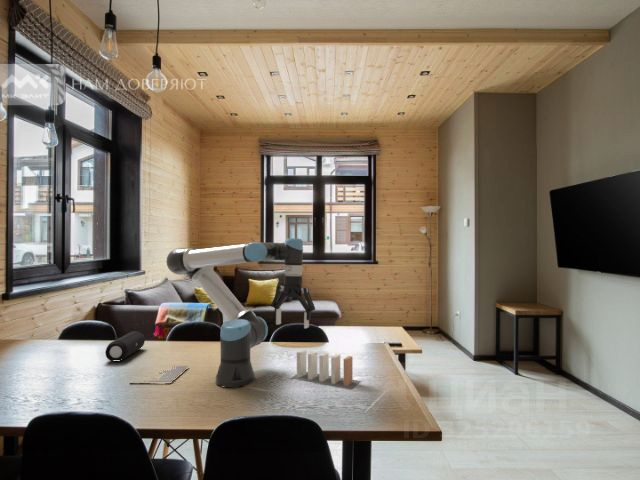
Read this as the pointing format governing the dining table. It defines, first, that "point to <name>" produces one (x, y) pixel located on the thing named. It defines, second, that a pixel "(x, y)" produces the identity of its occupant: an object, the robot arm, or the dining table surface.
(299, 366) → the domino
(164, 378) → the play button award
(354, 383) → the mat
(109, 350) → the portable speaker
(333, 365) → the domino
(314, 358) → the domino
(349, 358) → the end domino
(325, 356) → the domino
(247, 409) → the dining table surface
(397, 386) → the dining table surface
